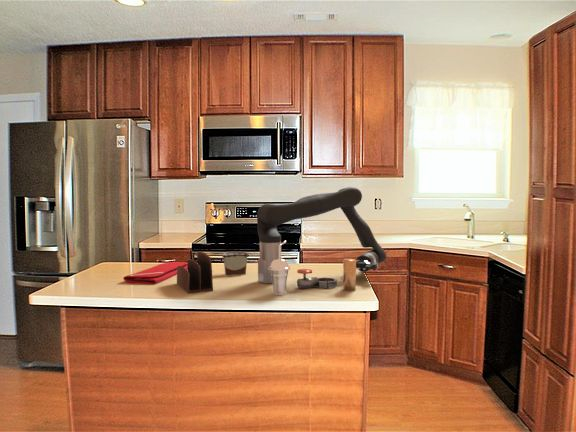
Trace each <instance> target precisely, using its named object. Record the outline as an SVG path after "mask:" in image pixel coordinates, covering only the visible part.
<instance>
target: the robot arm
mask: <svg viewBox="0 0 576 432" xmlns="http://www.w3.org/2000/svg"><path fill="white" fill-rule="evenodd" d="M362 198H363V194H362V191H361V190H360V189H359V188H357V187H354V186H348V187H344V188H341V189H338V190H337V191H335V192H326V193H324V192H323V193H318V194H311V195H308V196H304V197H301V198H299V199H298V200H295V201H293V202H291V203H284V204H271V203H267V204H266V203H264V204H262V205H260V207H259V208H258V210H257V215H256V219H257V220H256V221H257V236H258V237H259V258H258V260H257V281H258V282H260V283H262V284H272V276H271V273H270V270H269V269H268V268H269V266H270V265H271V263H272V261H273V260H274V259H276V258H279V244H281V243H282V235H281V234H280V233H279V231H278V228H277V227H278V226H281V225H284V224H285V223H289V222H291V221H295V220H299V219H300V220H301V219H306V218H311V217H316V216H319V215H323V214H327V213H329V212H331V211H334V210H337V209H341V211H342V212H343V214H344V216H345V217H346V218H347V220H348V221H349V223H350V224H351V225H350V226H352V228H353V230H354V232H355V235H356V236H357V238H358V241H359V243H360V246H361V247H362V248H372V249H370V250H367V251H365V252H363V254H361V255H359V256H357V257H356V259H355V260H356V270H358V271H359V272H362V273H367V272H369V271H372V270H373V271H377V270H378V269H379V264H380V263H383V262H385V261H386V260H387V253H386V252H385V251H386V250H385V249H384V248H383V247H382V246H381V245H380V243H378V241H377V240H376V238H375V236H374V234H373V231H372V229H371V227H370V226H369V224H367V222H366V221H365V220H364V219H363V218H362V216H361V215H360V214H359V213H358V211H357V210H356V208H355V207H356V206H358V205H359V204H360V203H361V202H362ZM280 258H282V246H281V247H280Z"/></svg>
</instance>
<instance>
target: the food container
mask: <svg viewBox="0 0 576 432" xmlns="http://www.w3.org/2000/svg"><path fill="white" fill-rule="evenodd" d="M248 258H249V253H248V252H246V251H226V252H223V254H222V260H223V264H224V266H223V267H224V273H225V276H226V275H228V276H240V275H241V276H242V275H243V274H244V275H246V273H247V265H248Z"/></svg>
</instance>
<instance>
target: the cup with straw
mask: <svg viewBox="0 0 576 432" xmlns="http://www.w3.org/2000/svg"><path fill="white" fill-rule="evenodd" d="M286 243H287V240H284V241H283V242H281V244H279V258H276V259H274V260H273V261H272V263H271V265H270V266H269V268H268V269H269V270H270V273H271V276H272V283H271V285H272V291H273V295H276V296H283V295H286V292H287V291H286V290H287V283H288V282H287V281H288V280H287V279H288V276H289V270H290V269H291V266H290V265H289V264H288V262H287V260H286V259H284V258H282V257H281V258H280V247H281V248H282V245H284V244H286Z"/></svg>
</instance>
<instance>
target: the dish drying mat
mask: <svg viewBox="0 0 576 432" xmlns="http://www.w3.org/2000/svg"><path fill="white" fill-rule="evenodd" d="M177 266H182V267H184V268H185V269H186V270H187V271H188V269H187V261H169V262H163V263H159V264H157V265H155V266H152V267H149V268H146V269H143V270H140V271H138V272H134V273H131V274H128V275H125V276H123V280H124V281H125V282H127V283H128V284H137V285H141V284H142V285H157V284H159V283H162V282H164V281H166V280H169V279H170V278H172V277H175V276H177Z"/></svg>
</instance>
